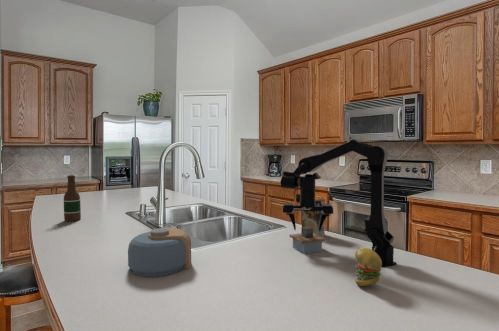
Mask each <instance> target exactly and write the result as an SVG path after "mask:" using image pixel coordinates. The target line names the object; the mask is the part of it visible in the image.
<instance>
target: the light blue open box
mask: <svg viewBox="0 0 499 331" xmlns="http://www.w3.org/2000/svg"><path fill="white" fill-rule="evenodd" d="M292 248H293V249H295V250H297V251H298V252H300V253H302V254H309V253H316V252H322V251H323V241H322V242H314V243H306V244H302V243H300V242H298V241H296V240H295V239H293V238H292Z"/></svg>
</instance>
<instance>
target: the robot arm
mask: <svg viewBox="0 0 499 331" xmlns="http://www.w3.org/2000/svg"><path fill="white" fill-rule="evenodd" d="M353 152H354V153H356V154H359V155H360V156H363V157H366V160H367V165H368V169H369V171H370V215H369V216H367V217H366V218H365V219H364V226H365V228H364V233H365V232H366V237H367V238H368V239H369V240H370V241H371V243H372V246H371V250H373V251H374V248H375V247H376V248H375V251H374V252H376V253H377V254H378V255H379V257H380V258H381V260H382V266H381V268H385V267H390V266H394V265H397V262H396V261H394V255H395V254H394V250H395V249H394V246H393V245H392V243H393V241H394V239H395V236H393V234H392V233H391V232H390V231H389V229H388V222H387V218H386V215H385V212H384V207H385V206H384V205H385V204H384V203H385V202H384V197H385V196H384V195H385V194H384V191H385V189H384V188H385V186H384V185H385V178H384V177H385V169H386V167H387V162H388V156H389V152H388V149H387V148H385V147H384V146H382V145H371V144H368V143H364V142H361V141H360V140H358V139H349V140H348V141H347V142H344V143H342V144H340V145H337V146H335V147H333V148H330V149H329V150H326V151H324V152H321V153H320V154H314V155H310V156H306V157H302V158H301V159H299V161H298V166H297V167H296V169H295V170H294V171H288V170H287V171H283V172H282V175H281V179H280V187H281V188H282V189H288V190H298V188H299V194H298V193H297V194H295V203H297V204H298V203H299V205H294V203H293V202H284V203H283V204H282V213H284V214H286V216H289V219H290V222H291V223H292V226H293V230H294V231H296V229H297V226H296V220H295V213H294V212H295V211H299V212H300V211H301V212H302V211H320V220H319V231H320V230H321V227H322V225H323V222H324V221H325V220H326V219H327V217H330V215H334V207H333V205H332V204H331V203H325V204H321V206H315V199H316V180H320V179H322V176H321V175H319V174H318V172H316V171H317V170H318V169H320V168H321V167H323V166H324V165H325V164H327V163H329V162H333V161H334V160H336V159H338V158H341V157H343V156H346V155H348V154H351V153H353ZM313 172H314V173H313ZM303 207H305V208H303ZM310 208H313V209H310ZM325 222H326V221H325Z"/></svg>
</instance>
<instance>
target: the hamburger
mask: <svg viewBox="0 0 499 331" xmlns="http://www.w3.org/2000/svg"><path fill="white" fill-rule="evenodd" d="M375 248H376V247H375ZM375 248H374V251H375ZM374 251H373V250H372V248H371V249H370V248H367V247H361V248H358V249H357V250H356V251H355V252H354V257H355V259H356V261H358V263H357V264H355V269H356V270H355V272H356V278H355V280H354V282H355V284H356V285H357V286H360V287H369V286H372V285H375V284H377V283H378V282H379V280H380V277H381V276H382V274H381V271H382V260H381V258H380V257H379V255H378V254H377V253H376V252H374Z"/></svg>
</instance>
